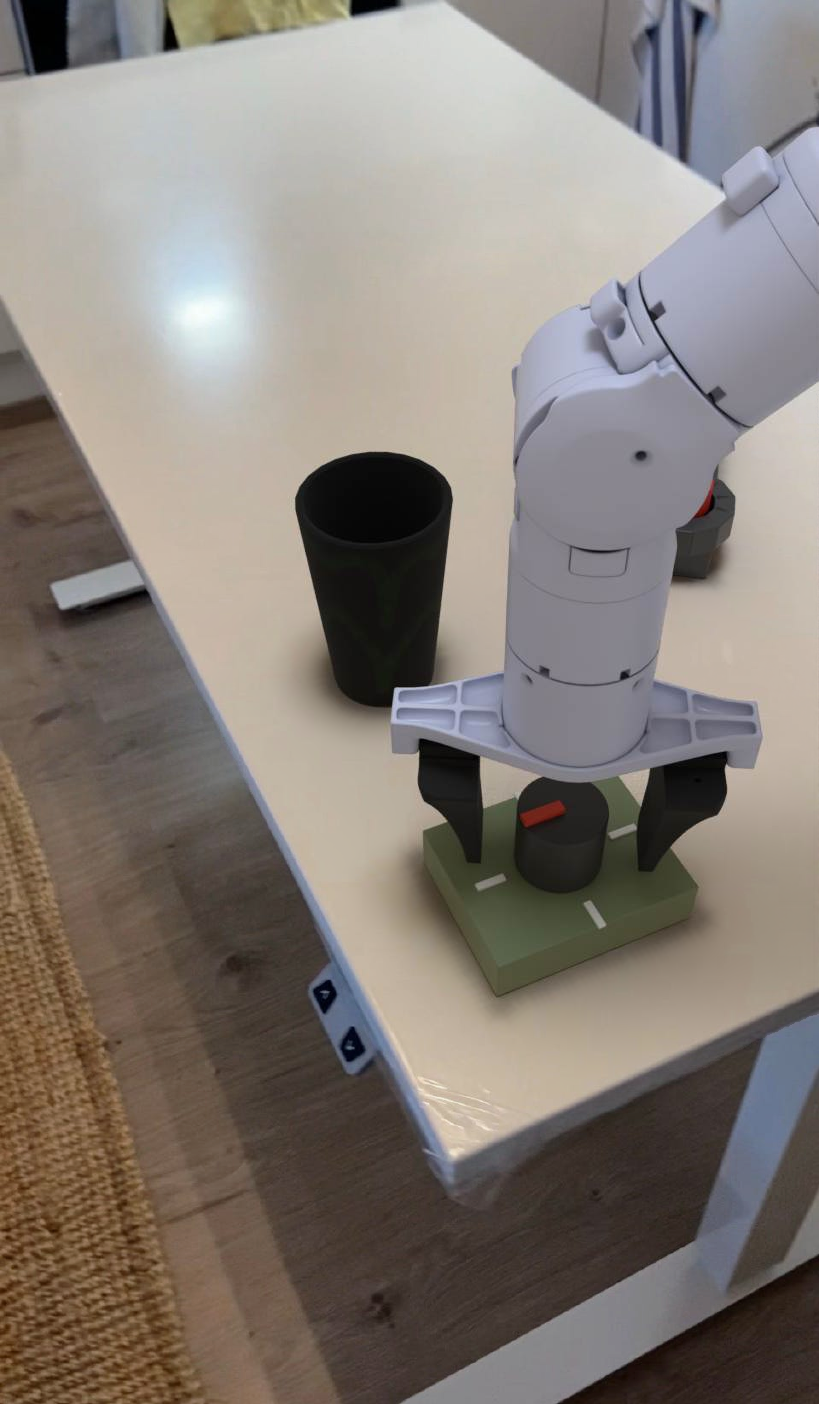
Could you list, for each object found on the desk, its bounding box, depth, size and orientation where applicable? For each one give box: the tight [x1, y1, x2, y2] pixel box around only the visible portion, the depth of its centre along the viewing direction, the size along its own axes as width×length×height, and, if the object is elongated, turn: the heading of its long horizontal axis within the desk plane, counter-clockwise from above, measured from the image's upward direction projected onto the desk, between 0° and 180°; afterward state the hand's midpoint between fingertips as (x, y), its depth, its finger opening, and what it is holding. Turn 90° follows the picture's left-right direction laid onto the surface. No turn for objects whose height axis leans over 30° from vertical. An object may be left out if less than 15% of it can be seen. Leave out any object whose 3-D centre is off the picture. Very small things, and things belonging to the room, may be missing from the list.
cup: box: [294, 451, 454, 708], centre depth 62 cm, size 8×8×12 cm
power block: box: [672, 463, 737, 579], centre depth 76 cm, size 19×11×4 cm, turn 167°
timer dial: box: [514, 776, 609, 893], centre depth 53 cm, size 4×4×4 cm
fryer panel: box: [422, 776, 699, 997], centre depth 55 cm, size 10×8×3 cm
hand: (559, 849), depth 54 cm, fingers open, 7 cm apart
